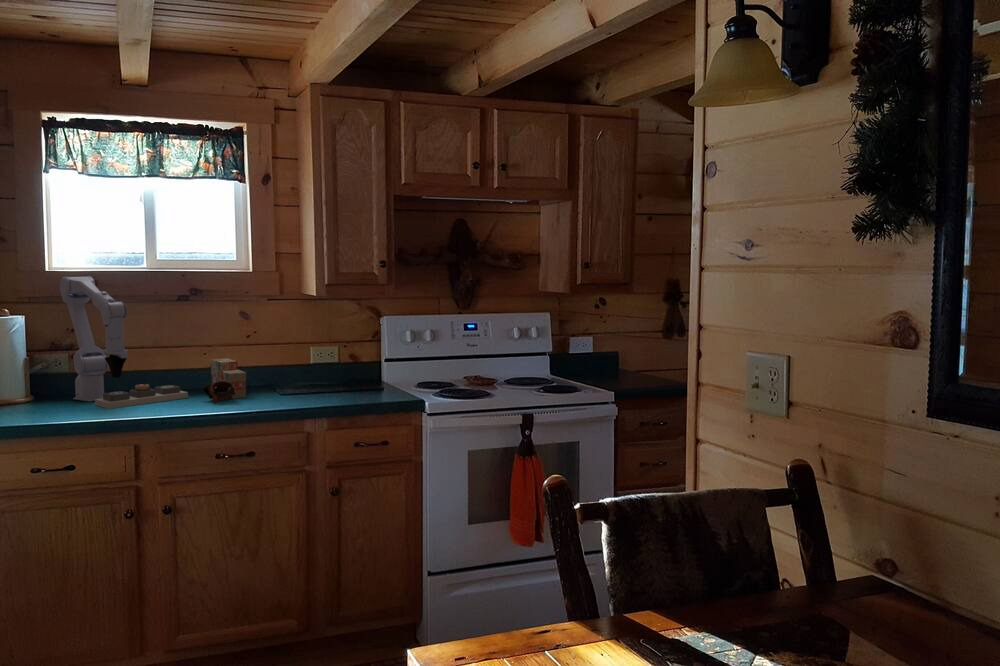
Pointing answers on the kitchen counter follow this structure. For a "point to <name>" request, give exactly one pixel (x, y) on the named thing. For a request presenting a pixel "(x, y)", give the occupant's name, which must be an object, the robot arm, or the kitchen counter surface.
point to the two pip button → (115, 393)
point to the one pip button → (167, 387)
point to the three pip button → (142, 387)
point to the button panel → (140, 397)
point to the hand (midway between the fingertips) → (116, 377)
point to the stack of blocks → (229, 375)
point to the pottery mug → (219, 391)
